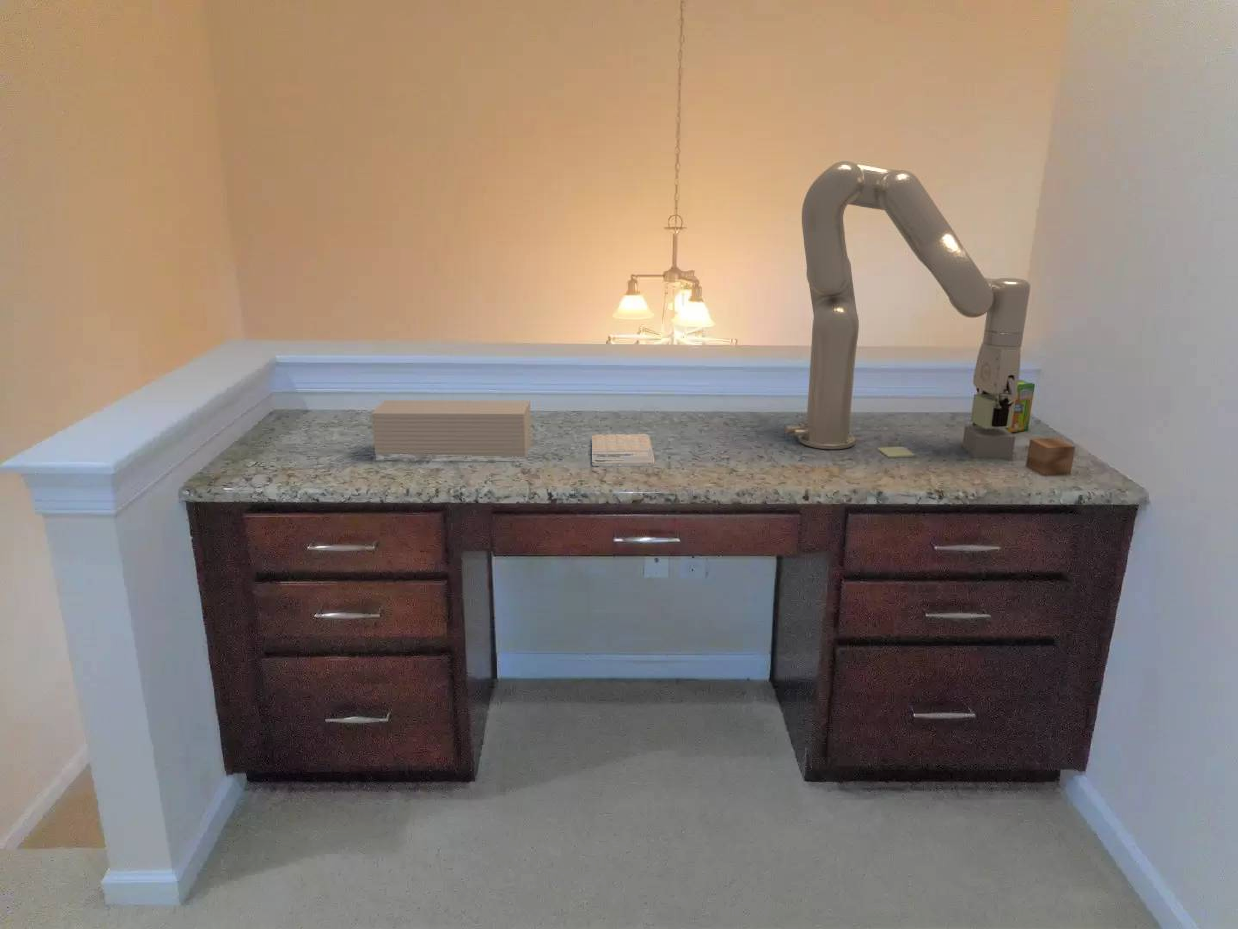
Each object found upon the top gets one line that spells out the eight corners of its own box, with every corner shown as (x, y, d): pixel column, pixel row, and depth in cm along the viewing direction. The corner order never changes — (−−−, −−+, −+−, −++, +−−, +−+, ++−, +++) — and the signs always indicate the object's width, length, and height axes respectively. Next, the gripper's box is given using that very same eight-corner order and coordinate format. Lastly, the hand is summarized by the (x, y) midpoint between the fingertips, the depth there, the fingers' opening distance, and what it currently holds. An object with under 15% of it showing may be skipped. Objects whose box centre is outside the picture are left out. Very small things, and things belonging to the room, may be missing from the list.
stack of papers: (375, 462, 184) (371, 413, 180) (389, 446, 194) (385, 400, 190) (525, 462, 183) (523, 413, 180) (531, 447, 193) (529, 400, 190)
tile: (888, 457, 185) (888, 456, 184) (876, 449, 190) (877, 447, 190) (914, 456, 185) (915, 455, 185) (902, 448, 191) (902, 446, 191)
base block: (973, 458, 185) (976, 436, 183) (962, 447, 192) (965, 425, 191) (1012, 459, 184) (1015, 436, 183) (998, 447, 192) (1002, 426, 190)
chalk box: (1002, 435, 200) (1011, 373, 195) (970, 426, 208) (979, 365, 203) (1029, 430, 204) (1039, 369, 199) (997, 421, 212) (1006, 361, 207)
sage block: (984, 428, 183) (988, 401, 181) (970, 420, 189) (974, 394, 187) (1011, 427, 184) (1015, 400, 182) (996, 419, 189) (1000, 393, 188)
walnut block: (1042, 476, 174) (1047, 447, 172) (1025, 466, 179) (1030, 439, 177) (1070, 474, 174) (1075, 446, 172) (1052, 465, 180) (1057, 437, 178)
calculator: (649, 440, 199) (649, 432, 198) (655, 468, 180) (655, 460, 179) (591, 441, 198) (591, 433, 198) (591, 469, 180) (591, 460, 179)
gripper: (964, 332, 188) (954, 412, 194) (1008, 347, 172) (995, 434, 178) (997, 331, 189) (985, 411, 195) (1043, 346, 173) (1029, 432, 179)
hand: (990, 421), depth 186 cm, fingers closed on sage block, 5 cm apart
